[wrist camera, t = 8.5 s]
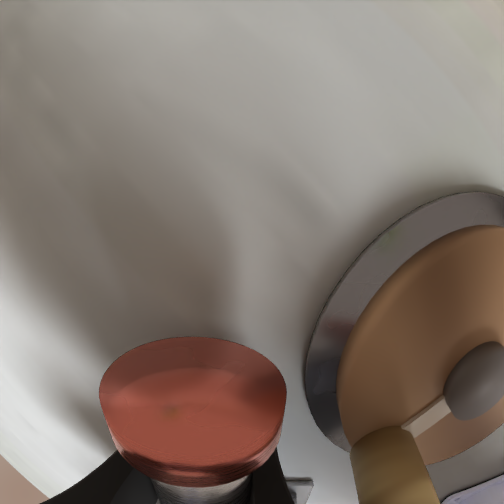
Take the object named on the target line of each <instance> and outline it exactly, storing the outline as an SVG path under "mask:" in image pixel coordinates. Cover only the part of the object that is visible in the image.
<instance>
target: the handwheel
mask: <svg viewBox="0 0 504 504" xmlns="http://www.w3.org/2000/svg"><path fill="white" fill-rule="evenodd" d="M336 399H337V403H338V408H339V412H340V417H341V421H342V425H343V430H344V434H345V436H346V438H347V440H348V442H349V444H350V445H351V447H352V449H351V451H350V460H351V464H352V469H353V474H354V479H355V484H356V489H357V494H358V499H359V504H440V502H439V499H438V496H437V494H436V491H435V489H434V486H433V484H432V481H431V478H430V476H429V474H428V471H427V469H426V466H425V465H430V464H433V463H436V462H440V461H443V460H445V459H448V458H450V457H453V456H455V455H457V454H459V453H461V452H463V451H465V450H467V449H469V448H470V447H472V446H474V445H475V444H477V443H479V442H480V441H481V440H483V439H484V438H486V437H487V436H488V435H490V434H491V433H492V432H494V431H495V430H496V429H497V428H498V427H500V426H501V425H502V424H503V423H504V227H501V226H496V225H475V226H469V227H464V228H461V229H459V230H456V231H453V232H450V233H448V234H446V235H444V236H442V237H440V238H438V239H436V240H434V241H433V242H431V243H430V244H428V245H427V246H425V247H424V248H422V249H421V250H419V251H418V252H416V253H415V254H414V255H413V256H412V257H410V258H409V259H408V260H407V261H406V262H405V263H403V264H402V265H401V266H400V267H399V268H398V269H397V270H396V271H395V272H394V273H393V274H392V275H391V276H390V277H389V278H388V279H387V280H386V281H385V282H384V283H383V285H382V286H381V287H380V289H379V290H378V291H377V292H376V293H375V295H374V296H373V297H372V298H371V300H370V301H369V303H368V304H367V306H366V307H365V309H364V310H363V312H362V313H361V315H360V316H359V318H358V320H357V321H356V323H355V325H354V327H353V329H352V331H351V333H350V335H349V337H348V339H347V342H346V344H345V347H344V349H343V352H342V355H341V359H340V362H339V366H338V370H337V379H336Z"/></svg>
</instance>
